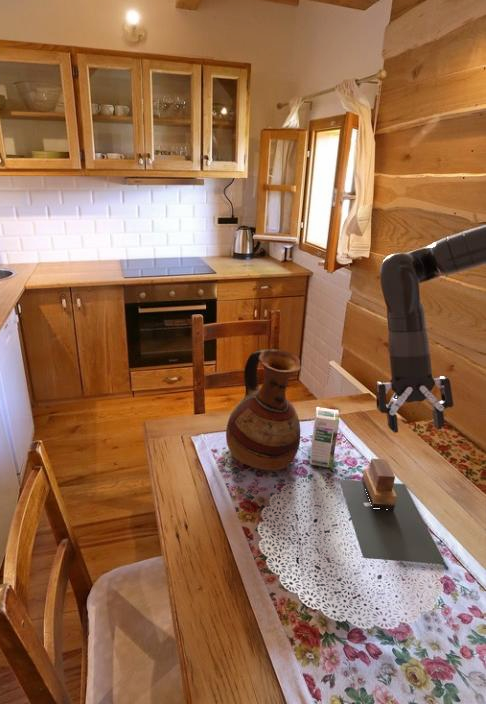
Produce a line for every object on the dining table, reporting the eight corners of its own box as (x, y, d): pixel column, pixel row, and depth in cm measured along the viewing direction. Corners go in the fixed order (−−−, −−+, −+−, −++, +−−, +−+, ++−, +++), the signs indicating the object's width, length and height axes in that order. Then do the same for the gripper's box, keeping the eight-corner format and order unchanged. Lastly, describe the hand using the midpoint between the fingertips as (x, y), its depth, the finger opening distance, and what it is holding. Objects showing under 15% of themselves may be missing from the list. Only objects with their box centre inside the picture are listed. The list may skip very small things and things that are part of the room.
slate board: (403, 486, 100) (404, 484, 100) (445, 567, 80) (446, 564, 79) (338, 481, 101) (339, 479, 101) (362, 560, 80) (363, 557, 80)
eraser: (381, 482, 100) (387, 455, 98) (393, 510, 92) (400, 482, 89) (361, 480, 100) (366, 454, 98) (372, 508, 92) (378, 480, 89)
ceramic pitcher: (261, 490, 97) (271, 379, 87) (209, 447, 112) (213, 348, 102) (313, 458, 109) (327, 357, 99) (260, 423, 124) (267, 332, 113)
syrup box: (309, 464, 107) (316, 417, 102) (310, 451, 112) (316, 405, 107) (331, 469, 105) (339, 421, 100) (331, 454, 111) (338, 408, 106)
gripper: (378, 358, 79) (386, 439, 80) (454, 350, 78) (461, 433, 79) (368, 352, 87) (375, 426, 88) (437, 345, 85) (444, 421, 86)
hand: (416, 429), depth 83 cm, fingers open, 8 cm apart
